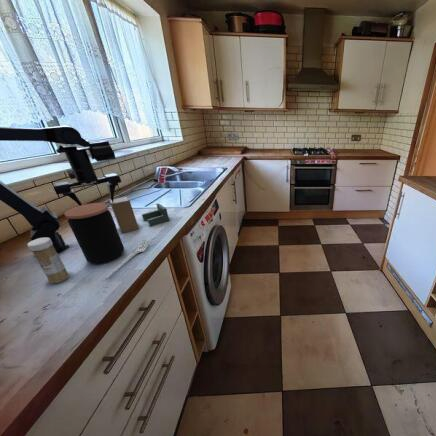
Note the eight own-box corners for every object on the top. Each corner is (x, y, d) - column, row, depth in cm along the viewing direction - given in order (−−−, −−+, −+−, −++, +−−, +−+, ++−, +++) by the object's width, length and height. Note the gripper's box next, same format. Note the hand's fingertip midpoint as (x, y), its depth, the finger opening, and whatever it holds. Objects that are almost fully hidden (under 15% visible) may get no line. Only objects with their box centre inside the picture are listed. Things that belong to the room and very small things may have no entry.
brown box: (122, 233, 94) (111, 204, 88) (119, 228, 98) (108, 200, 92) (138, 228, 97) (129, 200, 92) (135, 223, 101) (126, 196, 96)
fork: (101, 279, 68) (99, 274, 68) (144, 243, 86) (142, 239, 85) (111, 279, 68) (109, 274, 67) (152, 244, 86) (150, 239, 85)
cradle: (150, 226, 99) (146, 213, 97) (143, 220, 105) (139, 208, 102) (169, 220, 104) (166, 208, 102) (161, 214, 110) (158, 203, 107)
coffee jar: (132, 250, 82) (115, 204, 74) (103, 268, 73) (81, 218, 65) (110, 245, 85) (91, 201, 77) (79, 262, 76) (54, 213, 68)
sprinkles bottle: (45, 284, 66) (21, 245, 61) (59, 273, 71) (38, 236, 65) (60, 284, 66) (38, 245, 61) (74, 274, 71) (54, 236, 65)
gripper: (107, 156, 91) (121, 193, 98) (43, 165, 79) (64, 205, 86) (114, 160, 84) (128, 199, 91) (44, 170, 72) (67, 214, 79)
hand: (98, 204), depth 87 cm, fingers open, 9 cm apart
